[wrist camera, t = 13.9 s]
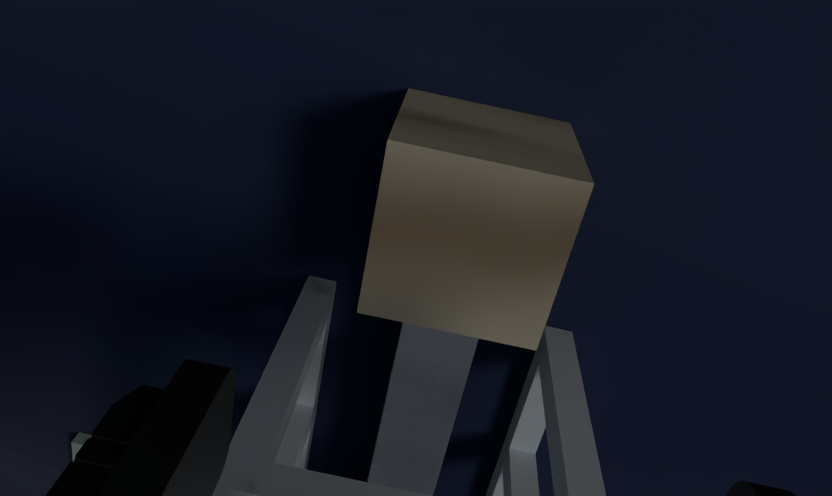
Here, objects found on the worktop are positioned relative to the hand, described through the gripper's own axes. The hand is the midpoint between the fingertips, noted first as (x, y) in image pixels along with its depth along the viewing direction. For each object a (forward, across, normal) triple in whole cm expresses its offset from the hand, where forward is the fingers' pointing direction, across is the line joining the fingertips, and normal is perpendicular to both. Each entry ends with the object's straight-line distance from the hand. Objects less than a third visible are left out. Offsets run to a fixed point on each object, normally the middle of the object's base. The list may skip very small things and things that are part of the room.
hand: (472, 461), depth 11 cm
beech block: (+12, 0, 0) cm, 12 cm away
